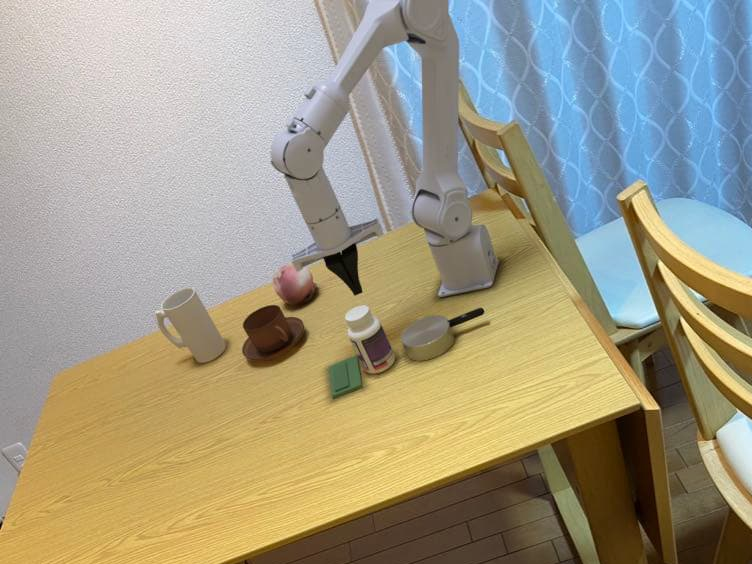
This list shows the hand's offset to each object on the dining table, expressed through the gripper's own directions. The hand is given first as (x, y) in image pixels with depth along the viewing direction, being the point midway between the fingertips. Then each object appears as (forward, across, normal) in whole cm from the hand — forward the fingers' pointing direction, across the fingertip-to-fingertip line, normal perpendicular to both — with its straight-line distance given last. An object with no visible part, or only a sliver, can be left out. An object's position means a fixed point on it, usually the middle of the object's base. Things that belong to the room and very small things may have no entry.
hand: (358, 291), depth 136 cm
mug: (+9, +34, -19) cm, 40 cm away
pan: (+9, -11, +8) cm, 16 cm away
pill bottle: (+9, +1, +8) cm, 12 cm away
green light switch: (+9, +7, +8) cm, 14 cm away
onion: (+9, +13, -25) cm, 30 cm away
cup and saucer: (+9, +18, -11) cm, 23 cm away
